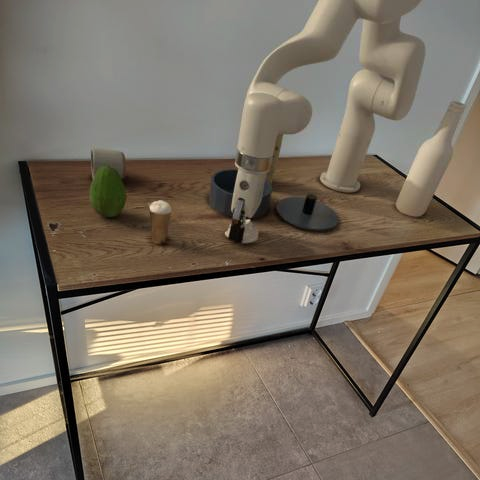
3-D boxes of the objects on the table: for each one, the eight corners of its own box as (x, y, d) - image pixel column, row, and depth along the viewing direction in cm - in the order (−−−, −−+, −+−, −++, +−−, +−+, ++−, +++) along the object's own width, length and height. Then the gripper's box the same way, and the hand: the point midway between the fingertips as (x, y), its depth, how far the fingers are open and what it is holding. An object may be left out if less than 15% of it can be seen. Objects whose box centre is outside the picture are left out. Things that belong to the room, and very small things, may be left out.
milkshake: (147, 232, 99) (148, 192, 92) (170, 236, 99) (173, 196, 93) (143, 243, 96) (143, 202, 89) (167, 247, 96) (170, 206, 89)
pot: (219, 184, 123) (222, 163, 119) (273, 199, 121) (278, 179, 117) (200, 207, 111) (202, 186, 107) (259, 225, 110) (263, 203, 106)
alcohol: (390, 208, 129) (436, 100, 109) (400, 199, 135) (446, 95, 115) (417, 220, 126) (471, 111, 106) (427, 211, 132) (479, 106, 112)
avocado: (115, 227, 99) (114, 176, 91) (84, 217, 99) (79, 166, 91) (132, 212, 104) (132, 163, 96) (102, 202, 105) (99, 154, 97)
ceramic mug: (127, 184, 114) (126, 155, 109) (94, 185, 111) (92, 155, 106) (120, 167, 121) (119, 139, 116) (89, 167, 118) (87, 138, 113)
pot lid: (282, 194, 124) (287, 175, 121) (340, 211, 122) (346, 192, 119) (269, 221, 112) (273, 200, 108) (332, 239, 110) (339, 219, 106)
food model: (276, 190, 126) (293, 118, 112) (255, 190, 123) (269, 117, 110) (265, 175, 132) (280, 105, 119) (244, 174, 130) (257, 103, 117)
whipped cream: (231, 249, 101) (233, 233, 97) (218, 232, 105) (220, 215, 101) (260, 242, 104) (264, 226, 100) (247, 225, 108) (250, 209, 104)
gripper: (260, 180, 84) (245, 256, 96) (279, 150, 97) (264, 220, 109) (223, 169, 85) (213, 246, 97) (247, 141, 98) (235, 212, 110)
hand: (240, 232), depth 103 cm, fingers closed on whipped cream, 7 cm apart
